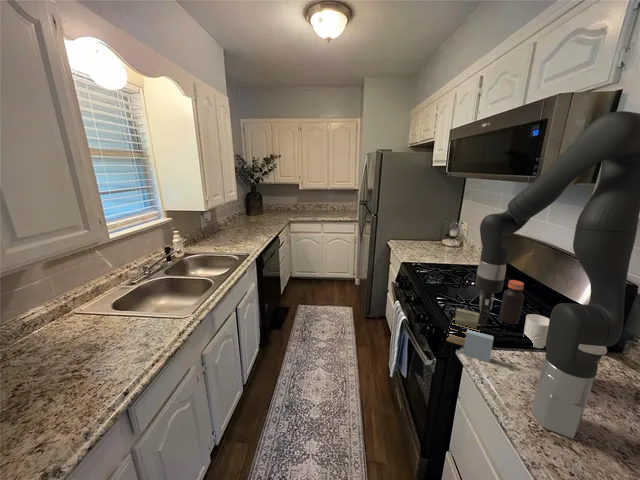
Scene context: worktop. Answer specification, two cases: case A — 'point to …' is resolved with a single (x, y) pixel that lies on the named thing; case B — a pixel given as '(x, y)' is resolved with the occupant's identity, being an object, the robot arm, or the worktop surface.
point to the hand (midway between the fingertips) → (482, 318)
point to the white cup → (536, 329)
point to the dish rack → (464, 324)
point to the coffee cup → (594, 351)
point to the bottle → (512, 302)
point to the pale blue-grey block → (478, 345)
